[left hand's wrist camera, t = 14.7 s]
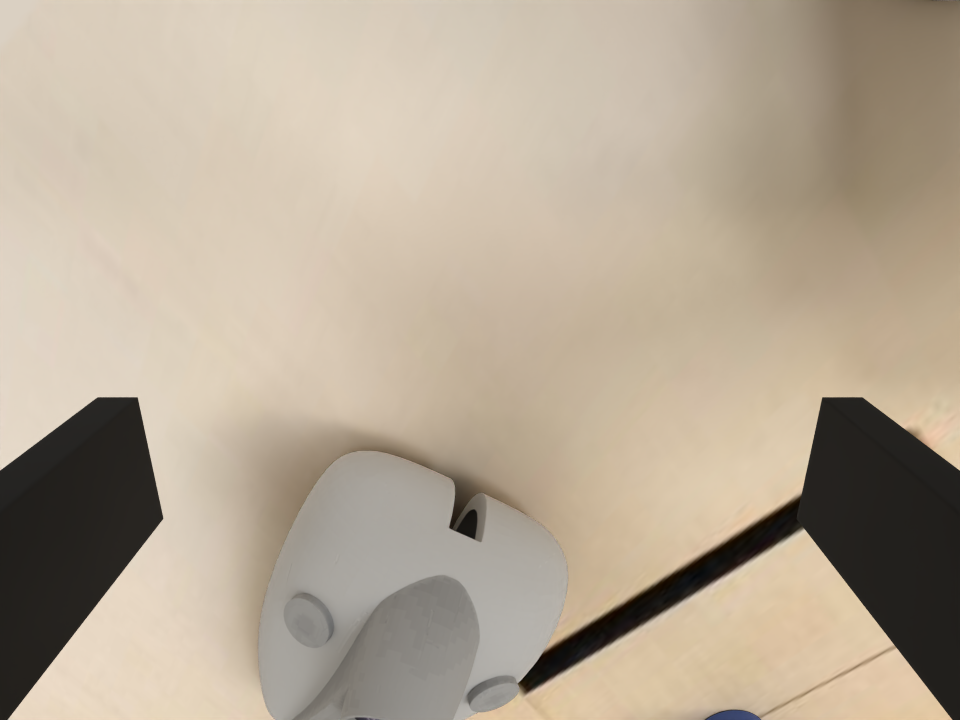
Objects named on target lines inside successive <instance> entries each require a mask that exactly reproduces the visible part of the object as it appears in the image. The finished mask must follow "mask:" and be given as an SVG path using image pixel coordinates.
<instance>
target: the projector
mask: <svg viewBox="0 0 960 720" xmlns="http://www.w3.org/2000/svg"><path fill="white" fill-rule="evenodd" d="M454 500H455V485H454V482H453V480H452V479H451V478H449V477H447V476H444V475H442V474H440V473H438V472H435V471H433V470H431V469H429V468H426V467H424V466H422V465H419V464H417V463H414V462H412V461H409V460H406V459H404V458H401V457H398V456H395V455H391V454H388V453H384V452H378V451H356V452H351V453H348V454H345V455H343V456H341V457H340V458H338V459H337V460H335V461H334V462H333V463H332V464H331V465H330V466H329V467H328V468H327V469H326V470H325V472H324V473H323V474H322V476H321V477H320V478H319V479H318V481H317V482H316V484H315V485H314V487H313V489H312V490H311V492H310V493H309V495H308V497H307V498H306V500H305V502H304V504H303V505H302V507H301V509H300V511H299V513H298V515H297V517H296V519H295V521H294V523H293V525H292V527H291V529H290V531H289V533H288V535H287V537H286V540H285V542H284V544H283V547H282V549H281V551H280V554H279V556H278V559H277V561H276V564H275V566H274V569H273V572H272V575H271V578H270V581H269V584H268V588H267V591H266V595H265V598H264V603H263V608H262V612H261V618H260V625H259V637H258V662H259V674H260V682H261V688H262V693H263V697H264V701H265V704H266V707H267V710H268V712H269V713H270V714H271V716H272V717H273V718H274V719H275V720H465V719H467V718H468V717H470V716H472V715H474V714H476V713H478V712H487V711H491V710H494V709H497V708H499V707H501V706H503V705H505V704H507V703H508V702H510V701H511V700H512V699H513V698H514V697H515V696H516V695H517V694H518V692H519V686H518V684H517V683H518V682H519V681H520V680H521V679H522V678H523V677H524V676H525V675H526V674H527V672H528V671H529V670H530V669H531V668H532V667H533V665H534V664H535V663H536V662H537V660H538V659H539V657H540V656H541V654H542V652H543V651H544V649H545V648H546V646H547V645H548V643H549V641H550V639H551V637H552V635H553V633H554V631H555V629H556V627H557V624H558V621H559V618H560V615H561V613H562V610H563V606H564V602H565V597H566V593H567V586H568V568H567V562H566V559H565V555H564V553H563V551H562V548H561V546H560V545H559V543H558V542H557V540H556V539H555V537H554V536H553V535H552V534H551V533H550V532H549V531H548V530H547V529H546V528H545V527H544V526H543V525H541V524H540V523H539V522H537V521H536V520H534V519H532V518H531V517H529V516H528V515H526V514H524V513H522V512H520V511H518V510H517V509H515V508H513V507H511V506H509V505H507V504H505V503H503V502H501V501H499V500H496V499H494V498H492V497H490V496H488V495H486V494H484V493H478V494H476V495H475V496H473V497H472V498H471V500H470V501H469V502H468V503H467V505H466V506H465V508H464V509H463V511H462V513H461V514H460V516H459V518H458V519H457V521H456V523H455V524H454V526H453V528H452V530H451V529H450V528H449V526H450V521H451V517H452V512H453V506H454Z"/></svg>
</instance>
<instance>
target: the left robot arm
mask: <svg viewBox="0 0 960 720" xmlns="http://www.w3.org/2000/svg"><path fill="white" fill-rule="evenodd" d="M934 1H958V0H934ZM162 520H163V515H162V510H161V505H160V501H159V496H158V491H157V487H156V482H155V477H154V472H153V468H152V463H151V458H150V454H149V449H148V444H147V439H146V435H145V430H144V425H143V421H142V416H141V411H140V407H139V402H138V397H98V398H96V399H95V400H94V401H92V402H91V403H90V404H88V405H87V406H86V407H84V408H83V409H82V410H80V411H79V412H78V413H76V414H75V415H74V416H72V417H71V418H70V419H68V420H67V421H66V422H64V423H63V424H62V425H60V426H59V427H58V428H56V429H55V430H54V431H52V432H51V433H50V434H48V435H47V436H46V437H44V438H43V439H42V440H40V441H39V442H38V443H36V444H35V445H34V446H32V447H31V448H30V449H28V450H27V451H26V452H24V453H23V454H22V455H20V456H19V457H18V458H16V459H15V460H14V461H12V462H11V463H10V464H9V465H7V466H6V467H5V468H3V469H2V470H1V471H0V720H8V718H9V717H10V716H11V715H12V713H13V712H14V711H15V709H16V708H17V707H18V706H19V704H20V703H21V702H22V700H23V699H24V698H25V697H26V695H27V694H28V693H29V691H30V690H31V689H32V687H33V686H34V685H35V684H36V682H37V681H38V680H39V678H40V677H41V676H42V675H43V673H44V672H45V671H46V669H47V668H48V667H49V666H50V664H51V663H52V662H53V660H54V659H55V658H56V657H57V655H58V654H59V653H60V651H61V650H62V649H63V647H64V646H65V645H66V644H67V642H68V641H69V640H70V638H71V637H72V636H73V635H74V633H75V632H76V631H77V629H78V628H79V627H80V626H81V624H82V623H83V622H84V620H85V619H86V618H87V616H88V615H89V614H90V613H91V611H92V610H93V609H94V607H95V606H96V605H97V604H98V602H99V601H100V600H101V598H102V597H103V596H104V595H105V593H106V592H107V591H108V589H109V588H110V587H111V586H112V584H113V583H114V582H115V580H116V579H117V578H118V576H119V575H120V574H121V573H122V571H123V570H124V569H125V567H126V566H127V565H128V564H129V562H130V561H131V560H132V558H133V557H134V556H135V555H136V553H137V552H138V551H139V549H140V548H141V547H142V546H143V544H144V543H145V542H146V540H147V539H148V538H149V536H150V535H151V534H152V533H153V531H154V530H155V529H156V527H157V526H158V525H159V524H160V522H161V521H162ZM797 520H798V521H799V522H800V524H801V525H802V526H803V527H804V529H805V530H806V531H807V533H808V534H809V535H810V536H811V538H812V539H813V540H814V542H815V543H816V544H817V546H818V547H819V548H820V549H821V551H822V552H823V553H824V555H825V556H826V557H827V558H828V560H829V561H830V562H831V564H832V565H833V566H834V567H835V569H836V570H837V571H838V573H839V574H840V575H841V576H842V578H843V579H844V580H845V582H846V583H847V584H848V586H849V587H850V588H851V589H852V591H853V592H854V593H855V595H856V596H857V597H858V598H859V600H860V601H861V602H862V604H863V605H864V606H865V607H866V609H867V610H868V611H869V613H870V614H871V615H872V617H873V618H874V619H875V620H876V622H877V623H878V624H879V626H880V627H881V628H882V629H883V631H884V632H885V633H886V635H887V636H888V637H889V638H890V640H891V641H892V642H893V644H894V645H895V646H896V647H897V649H898V650H899V651H900V653H901V654H902V655H903V657H904V658H905V659H906V660H907V662H908V663H909V664H910V666H911V667H912V668H913V669H914V671H915V672H916V673H917V675H918V676H919V677H920V678H921V680H922V681H923V682H924V684H925V685H926V686H927V687H928V689H929V690H930V691H931V693H932V694H933V695H934V697H935V698H936V699H937V700H938V702H939V703H940V704H941V706H942V707H943V708H944V709H945V711H946V712H947V713H948V715H949V716H950V717H951V718H952V720H960V471H959V470H958V469H957V468H955V467H954V466H953V465H951V464H950V463H949V462H948V461H946V460H945V459H944V458H942V457H941V456H940V455H938V454H937V453H936V452H934V451H933V450H932V449H930V448H929V447H928V446H926V445H925V444H924V443H922V442H921V441H920V440H918V439H917V438H916V437H914V436H913V435H912V434H910V433H909V432H908V431H906V430H905V429H904V428H902V427H901V426H900V425H898V424H897V423H896V422H894V421H893V420H892V419H890V418H889V417H888V416H886V415H885V414H884V413H882V412H881V411H880V410H878V409H877V408H876V407H874V406H873V405H872V404H870V403H869V402H868V401H866V400H865V399H864V398H862V397H822V402H821V406H820V411H819V416H818V421H817V425H816V430H815V435H814V439H813V444H812V449H811V454H810V458H809V463H808V468H807V472H806V477H805V482H804V486H803V491H802V496H801V501H800V505H799V510H798V515H797Z"/></svg>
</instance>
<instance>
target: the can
mask: <svg viewBox="0 0 960 720" xmlns="http://www.w3.org/2000/svg"><path fill="white" fill-rule="evenodd" d="M706 720H761V719H760V718H759V717H757V716H756V715H754V714H752V713H750V712H746V711H740V710H730V711H724V712H720V713H717V714H715V715H713V716H711V717H709V718H707V719H706Z"/></svg>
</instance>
